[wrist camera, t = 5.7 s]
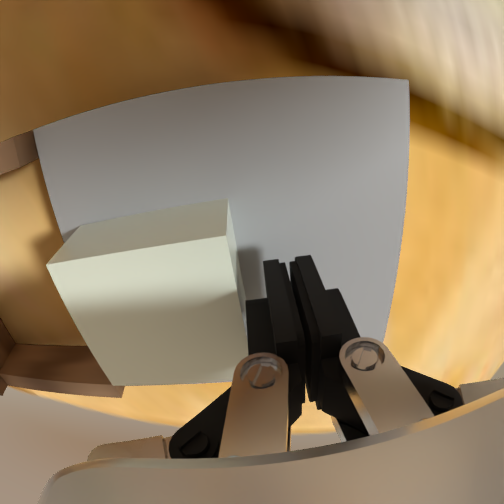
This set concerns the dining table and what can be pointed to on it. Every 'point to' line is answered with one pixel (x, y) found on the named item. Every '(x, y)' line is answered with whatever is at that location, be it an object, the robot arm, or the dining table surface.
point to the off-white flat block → (157, 294)
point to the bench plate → (255, 173)
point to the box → (43, 356)
